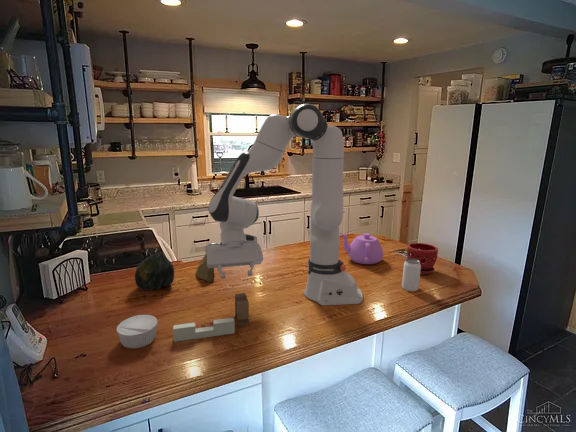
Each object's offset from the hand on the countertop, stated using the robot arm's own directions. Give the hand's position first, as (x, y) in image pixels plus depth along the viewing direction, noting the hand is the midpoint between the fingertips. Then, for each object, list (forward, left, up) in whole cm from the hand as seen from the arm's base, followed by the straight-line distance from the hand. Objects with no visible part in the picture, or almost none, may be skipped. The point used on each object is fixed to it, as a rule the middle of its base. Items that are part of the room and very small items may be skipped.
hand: (237, 276), depth 121 cm
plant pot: (-77, -42, -12) cm, 88 cm away
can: (-67, -22, -12) cm, 71 cm away
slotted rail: (+6, +19, -11) cm, 23 cm away
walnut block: (-3, +9, -11) cm, 15 cm away
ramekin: (+25, +23, -12) cm, 36 cm away
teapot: (-51, -53, -12) cm, 74 cm away
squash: (+36, -13, -12) cm, 40 cm away
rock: (+19, -23, -12) cm, 32 cm away
